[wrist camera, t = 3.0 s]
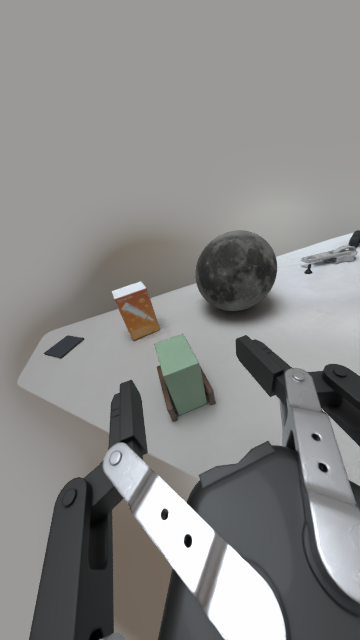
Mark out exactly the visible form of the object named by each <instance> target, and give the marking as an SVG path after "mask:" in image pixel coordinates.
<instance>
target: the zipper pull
mask: <svg viewBox="0 0 360 640" xmlns="http://www.w3.org/2000/svg"><path fill="white" fill-rule="evenodd" d="M348 248H349V250H344V249H348ZM357 253H358V252H357V251H356V247H353V246H342V247H339V248H337V249H336V250H333V251H328V252H324V253H320V254H316V255H312V256H308V257H304V258H302V260H301V261H303V262H306V263H311V262H315V261H320V260H323V261H326V262H330V263H333V264H339V263H341V262H353V261H354V260H355V259H356V258H355V257H354V256H355V255H357ZM308 259H310V260H308Z"/></svg>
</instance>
